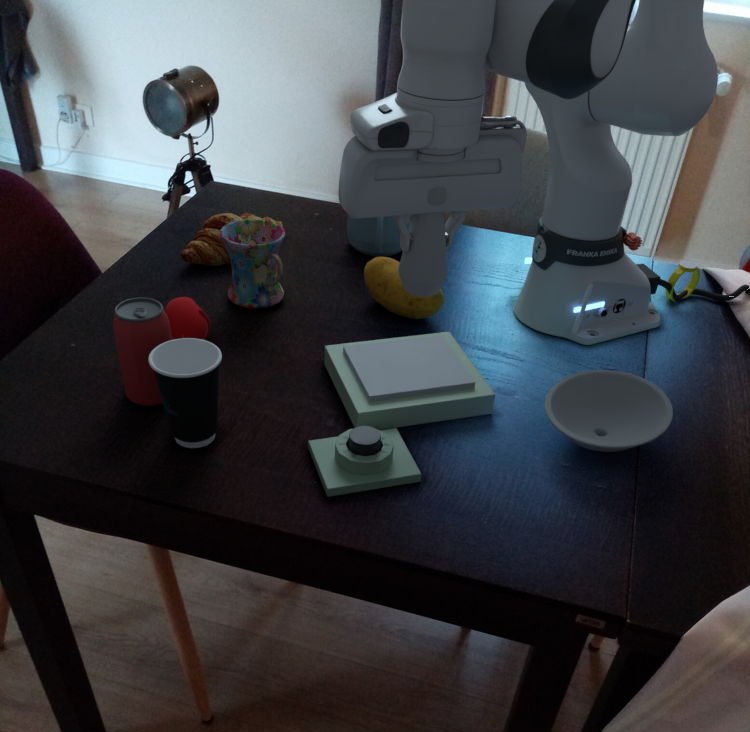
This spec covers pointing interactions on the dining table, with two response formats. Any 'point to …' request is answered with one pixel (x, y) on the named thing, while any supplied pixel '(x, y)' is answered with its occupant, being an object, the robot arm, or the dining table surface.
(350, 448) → the tare button
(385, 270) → the potato
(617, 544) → the dining table surface
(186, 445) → the dixie cup
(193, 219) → the dining table surface
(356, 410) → the scale
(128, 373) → the beer can
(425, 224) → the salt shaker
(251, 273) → the mug
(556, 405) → the dish
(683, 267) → the watch
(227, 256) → the croissant
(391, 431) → the green dial panel
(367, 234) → the mug
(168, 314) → the cap
